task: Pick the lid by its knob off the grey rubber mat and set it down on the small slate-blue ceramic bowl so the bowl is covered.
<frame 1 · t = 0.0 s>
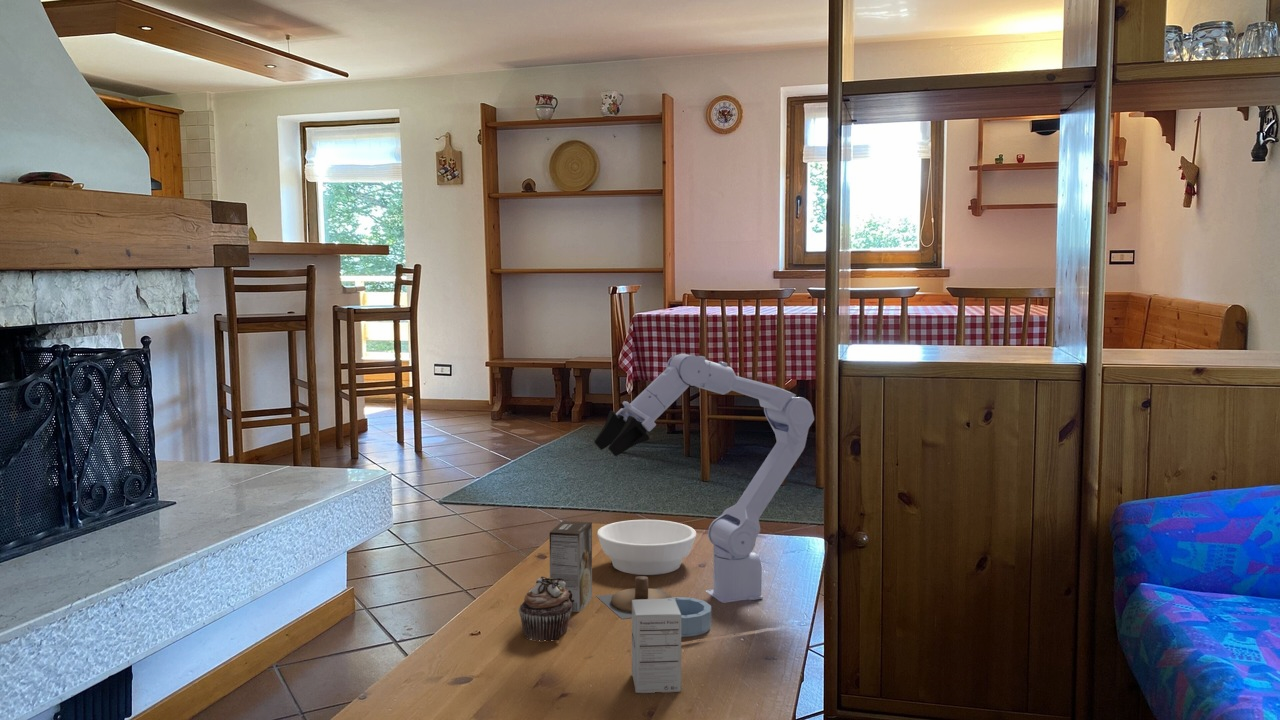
hand: (604, 449, 173), 32 cm above the table, tool tilted 50°, fingers open, 7 cm apart
supplement box: (655, 684, 144), on the table
cupcake: (545, 634, 165), on the table
small bowl: (680, 628, 168), on the table
bowl: (646, 568, 205), on the table
coffee box: (571, 607, 180), on the table
lid: (641, 602, 180), point 1 cm above the table, touching mat
mat: (641, 605, 180), on the table
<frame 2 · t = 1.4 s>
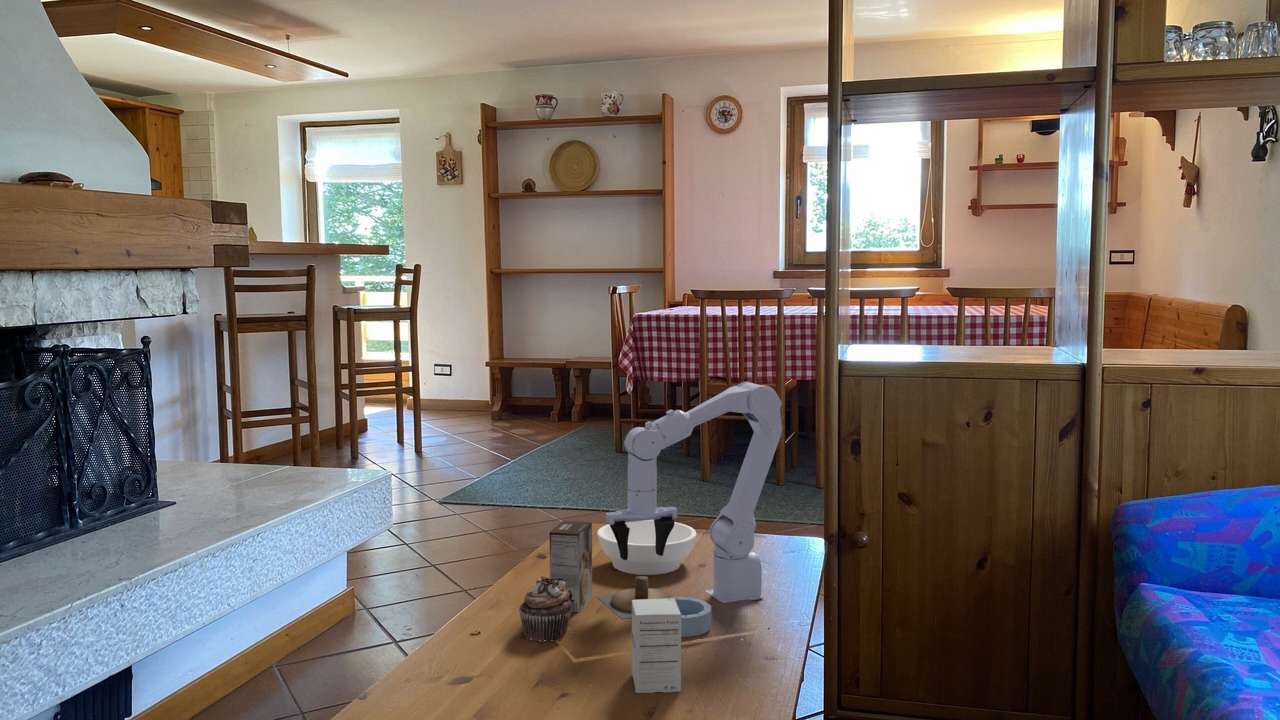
hand: (641, 556, 179), 10 cm above the table, tool pointing down, fingers open, 7 cm apart
nothing on the table moved.
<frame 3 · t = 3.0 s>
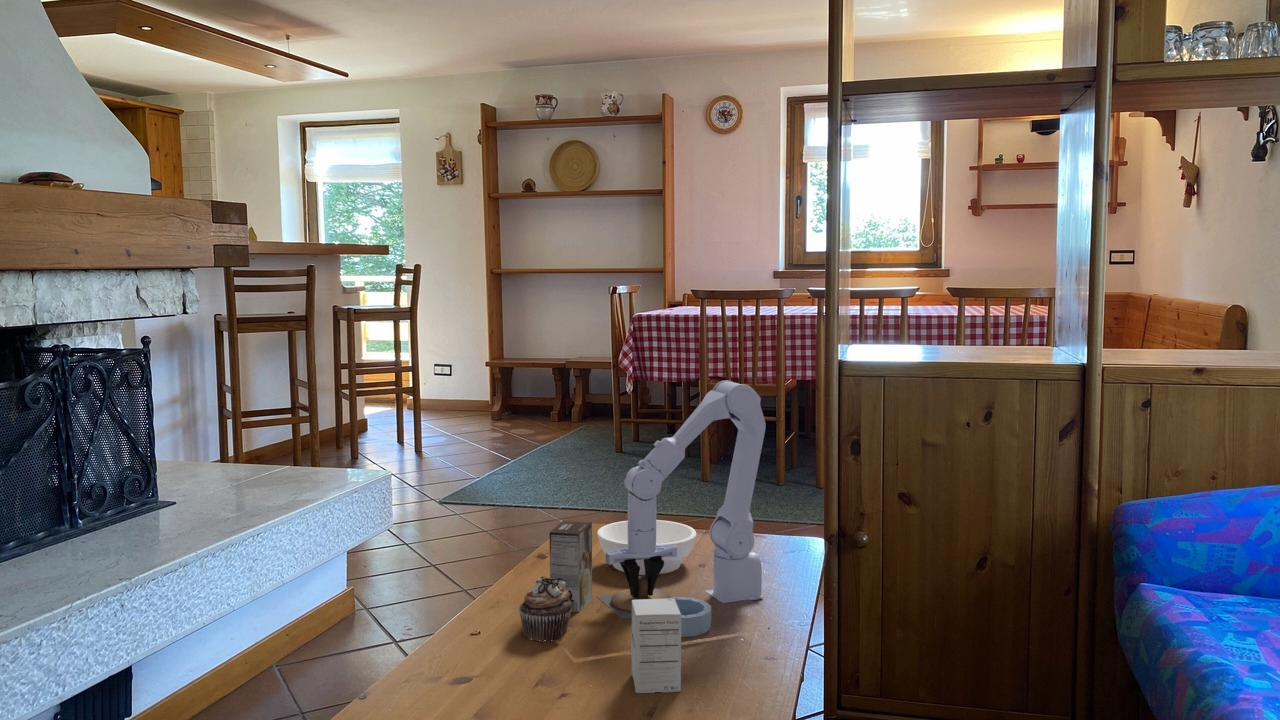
hand: (641, 595, 180), 2 cm above the table, tool pointing down, fingers closed on lid, 3 cm apart
lid: (641, 602, 180), point 1 cm above the table, touching gripper, mat
everything else where it was.
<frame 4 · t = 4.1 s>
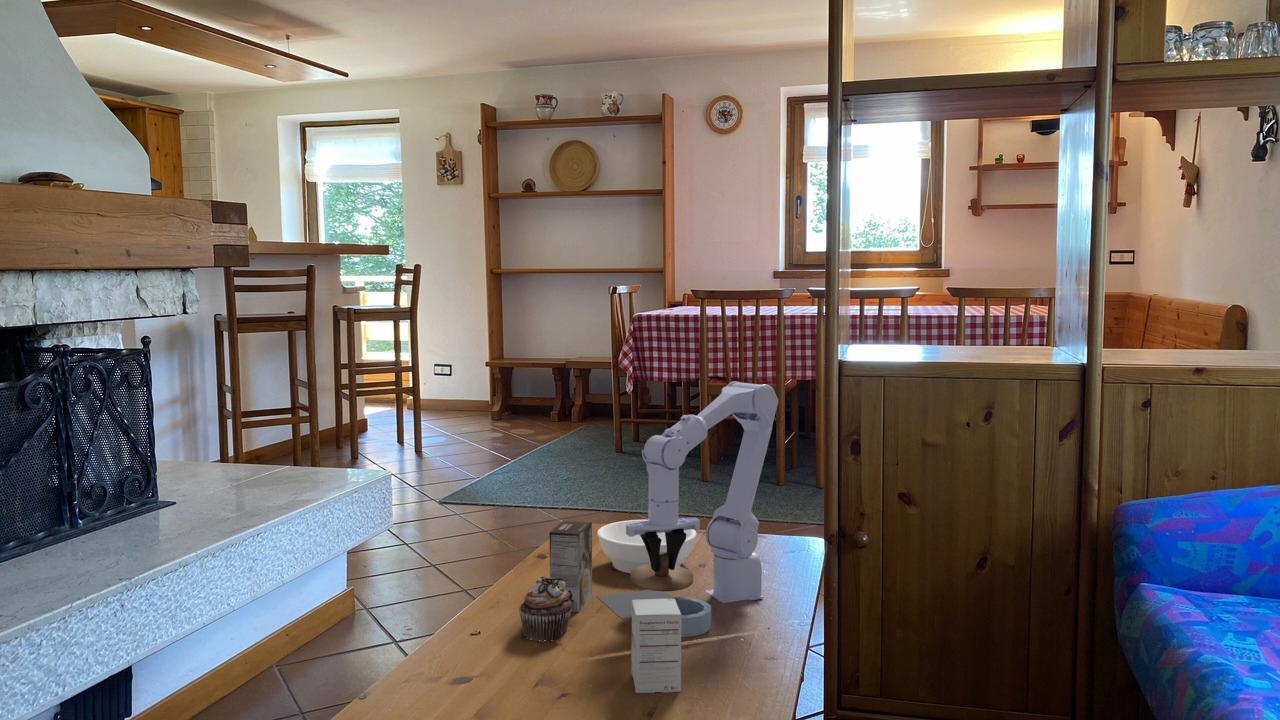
hand: (662, 569, 173), 9 cm above the table, tool pointing down, fingers closed on lid, 3 cm apart
lid: (661, 579, 173), point 7 cm above the table, touching gripper
everything else where it was.
when the fingers open (7 cm above the table, at t = 5.2 s): lid stays where it is, resting on small bowl.
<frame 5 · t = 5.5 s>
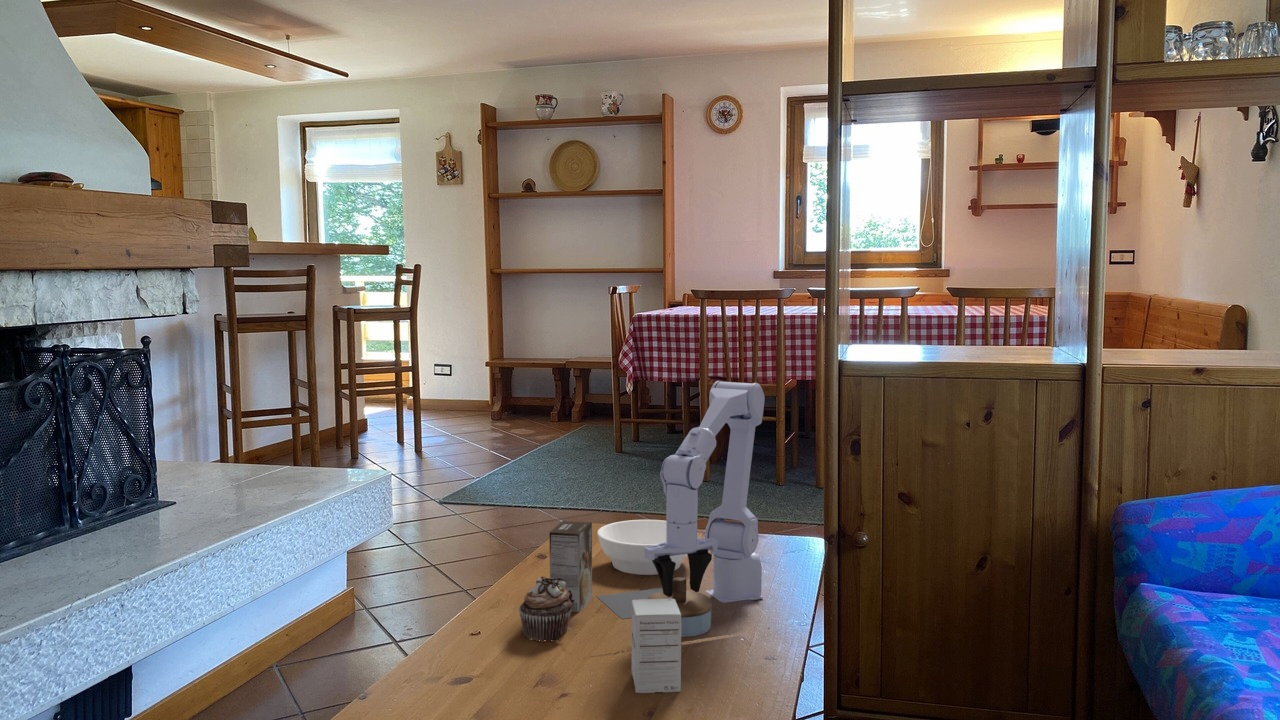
hand: (681, 592, 167), 7 cm above the table, tool pointing down, fingers open, 5 cm apart
lid: (679, 605, 168), point 4 cm above the table, touching small bowl
everything else where it was.
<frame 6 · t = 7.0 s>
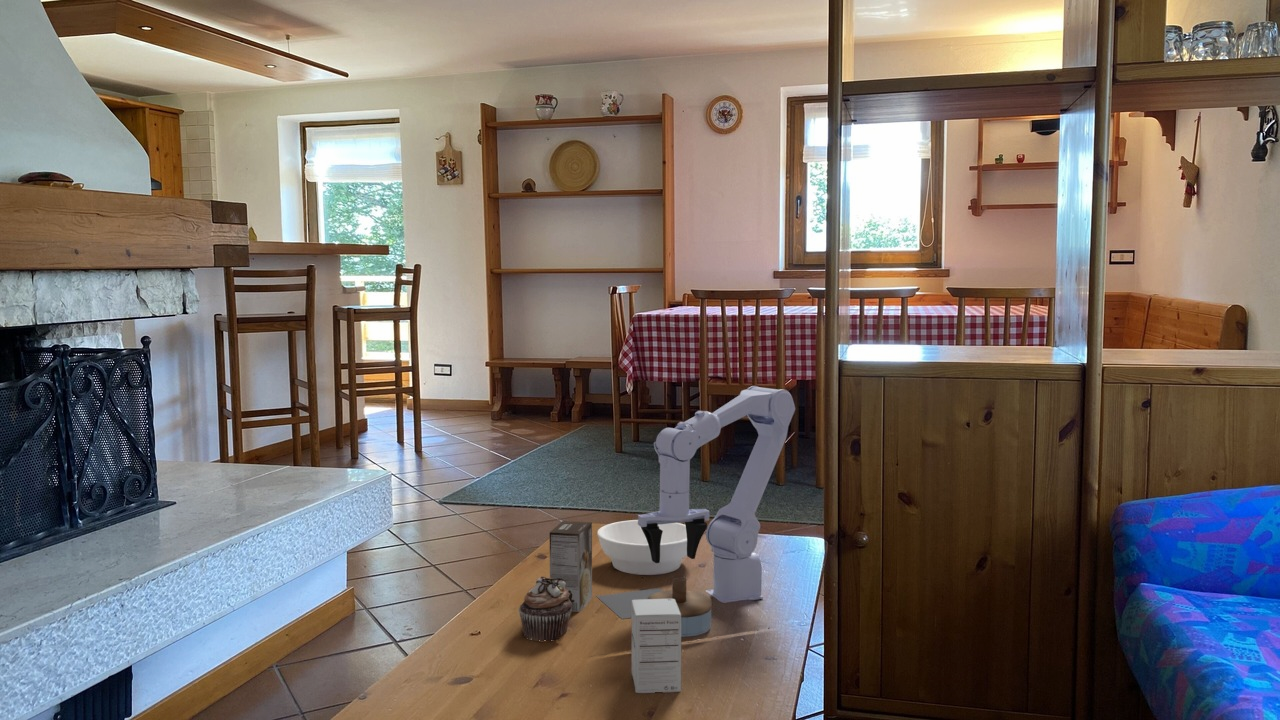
hand: (673, 559, 176), 10 cm above the table, tool pointing down, fingers open, 7 cm apart
nothing on the table moved.
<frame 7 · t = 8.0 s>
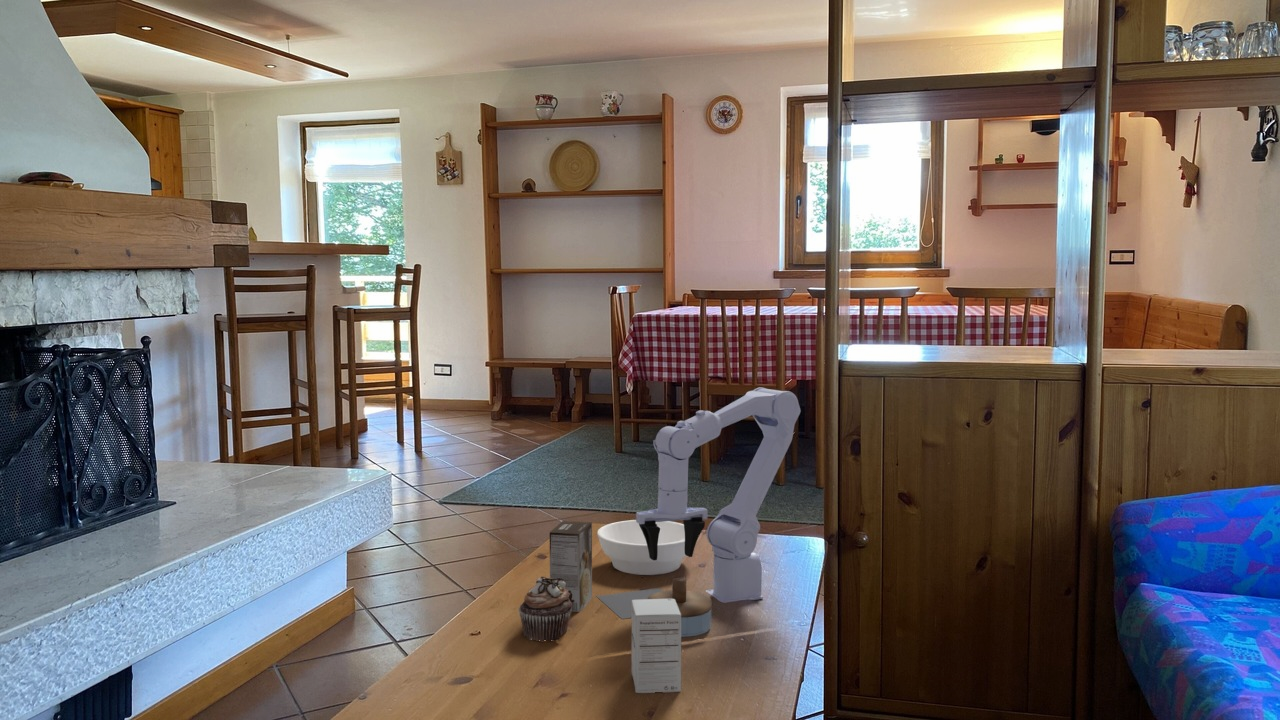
hand: (671, 557, 177), 10 cm above the table, tool pointing down, fingers open, 7 cm apart
nothing on the table moved.
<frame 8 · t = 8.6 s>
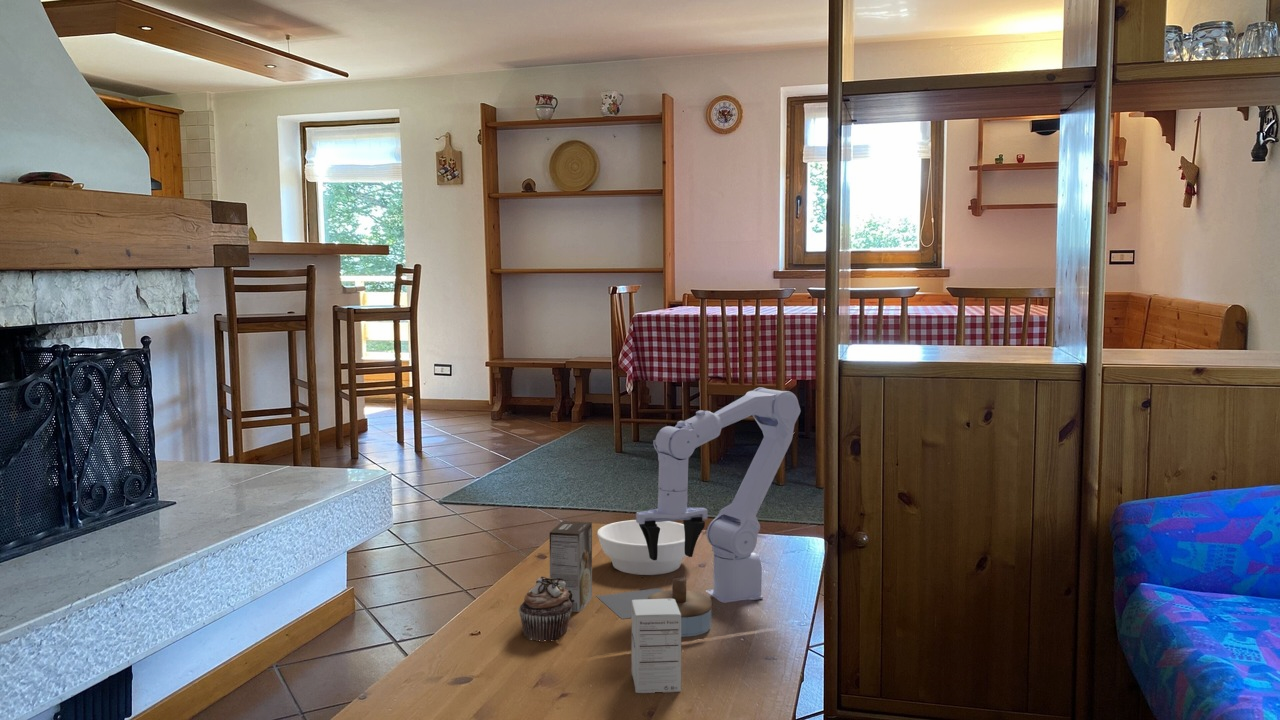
hand: (671, 557, 177), 10 cm above the table, tool pointing down, fingers open, 7 cm apart
nothing on the table moved.
at the end: lid 0.7 cm off-centre on the small bowl, point 4.0 cm above the small bowl's base; lid tilted 0°; the gripper is holding nothing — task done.
